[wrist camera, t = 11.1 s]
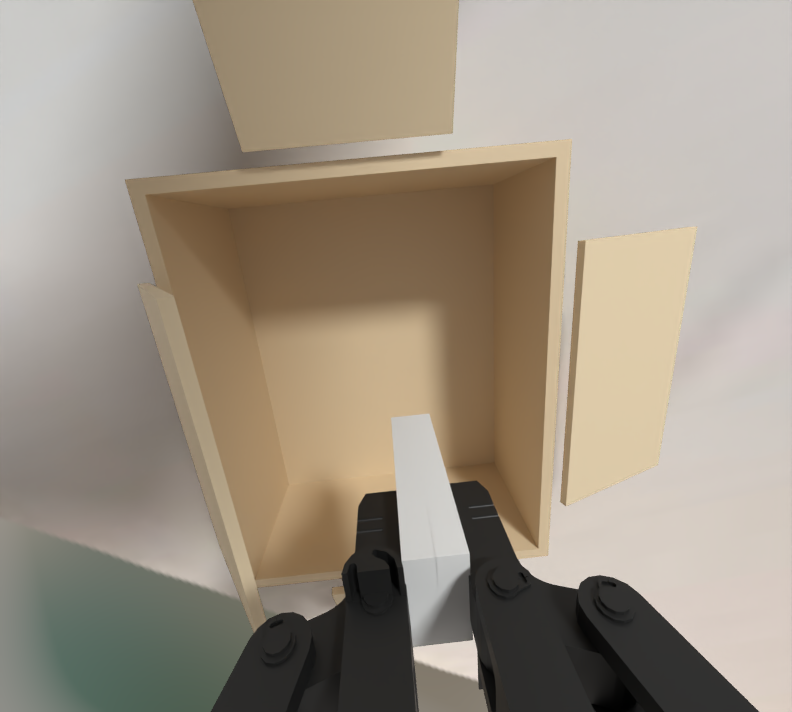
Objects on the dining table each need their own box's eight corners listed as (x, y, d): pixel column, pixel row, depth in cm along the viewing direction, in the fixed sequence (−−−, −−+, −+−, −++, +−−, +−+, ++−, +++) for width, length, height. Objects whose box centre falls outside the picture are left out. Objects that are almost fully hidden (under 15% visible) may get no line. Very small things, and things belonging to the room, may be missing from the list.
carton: (218, 200, 23) (125, 179, 14) (500, 174, 23) (572, 138, 15) (283, 488, 30) (246, 588, 21) (499, 465, 30) (548, 555, 22)
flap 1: (148, 282, 15) (137, 284, 15) (173, 295, 10) (156, 299, 9) (227, 542, 20) (219, 546, 20) (277, 658, 14) (267, 666, 14)
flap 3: (697, 226, 18) (688, 226, 18) (585, 240, 16) (577, 241, 16) (657, 464, 23) (651, 461, 23) (566, 506, 20) (560, 501, 20)
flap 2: (242, 152, 14) (244, 148, 14) (452, 133, 14) (450, 130, 14) (125, -206, 8) (132, -200, 9) (469, -230, 9) (465, -224, 9)
